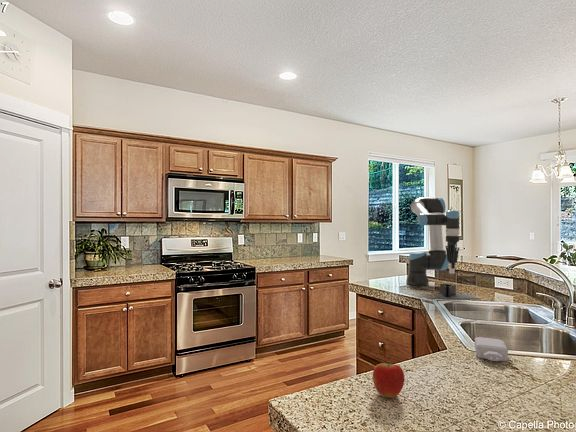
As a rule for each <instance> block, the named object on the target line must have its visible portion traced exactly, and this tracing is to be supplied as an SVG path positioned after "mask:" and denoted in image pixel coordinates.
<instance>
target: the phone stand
mask: <svg viewBox="0 0 576 432" xmlns="http://www.w3.org/2000/svg"><path fill="white" fill-rule="evenodd" d="M439 284H440V285H439V294H442V295H444V296H445V297H447V296H448V298H449V297H451V296H453V295H456V294H457V287H456V286H457V285H456V284H448V283H439Z"/></svg>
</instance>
